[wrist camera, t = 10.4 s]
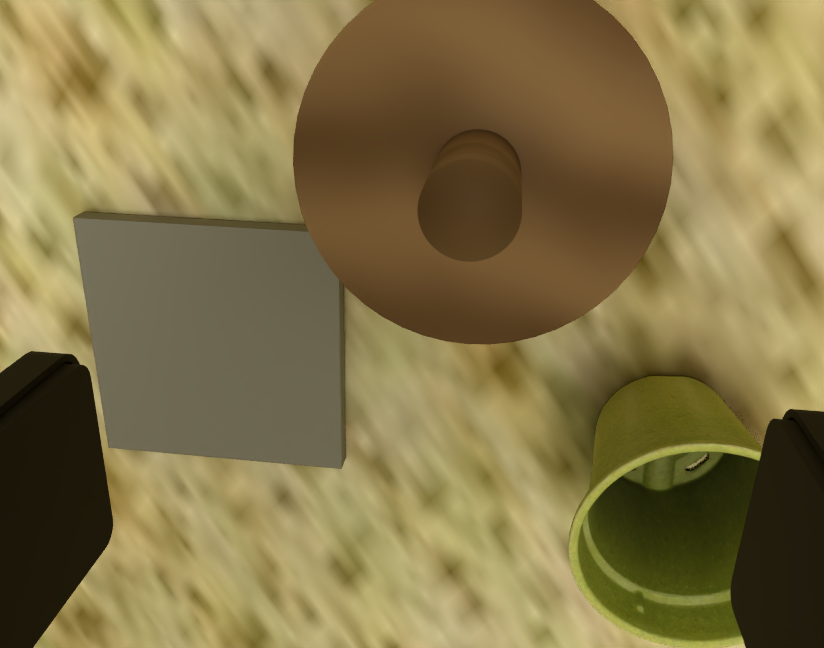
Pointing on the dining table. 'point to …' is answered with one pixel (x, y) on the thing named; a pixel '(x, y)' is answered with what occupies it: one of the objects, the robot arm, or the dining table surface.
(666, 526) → the plant pot
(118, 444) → the mat
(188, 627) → the dining table surface
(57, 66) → the dining table surface
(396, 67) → the lid
